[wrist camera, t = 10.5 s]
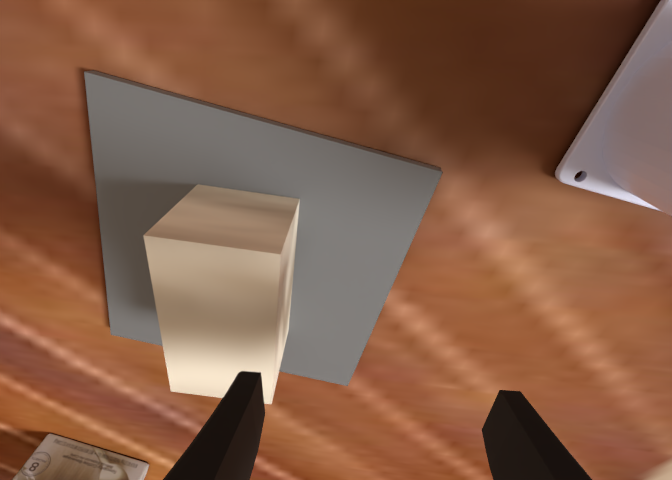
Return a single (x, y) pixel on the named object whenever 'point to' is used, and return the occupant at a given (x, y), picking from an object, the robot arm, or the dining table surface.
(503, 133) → the dining table surface
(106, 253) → the rubber mat
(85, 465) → the coffee box
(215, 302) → the pale wooden block
